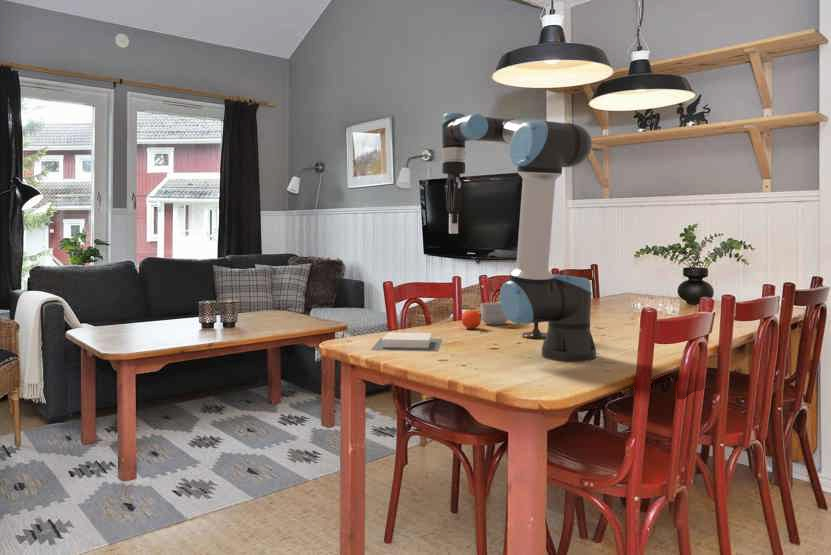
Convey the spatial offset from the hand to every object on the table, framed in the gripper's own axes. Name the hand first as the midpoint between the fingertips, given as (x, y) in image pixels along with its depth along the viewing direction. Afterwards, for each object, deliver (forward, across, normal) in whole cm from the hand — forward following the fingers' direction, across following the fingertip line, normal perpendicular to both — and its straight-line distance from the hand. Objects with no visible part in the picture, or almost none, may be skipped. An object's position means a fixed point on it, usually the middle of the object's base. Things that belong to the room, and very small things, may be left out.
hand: (453, 233), depth 218 cm
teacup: (+35, +20, -24) cm, 47 cm away
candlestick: (+35, -9, -26) cm, 44 cm away
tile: (+32, -9, +17) cm, 38 cm away
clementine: (+35, +12, -10) cm, 38 cm away
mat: (+34, -14, +19) cm, 42 cm away
